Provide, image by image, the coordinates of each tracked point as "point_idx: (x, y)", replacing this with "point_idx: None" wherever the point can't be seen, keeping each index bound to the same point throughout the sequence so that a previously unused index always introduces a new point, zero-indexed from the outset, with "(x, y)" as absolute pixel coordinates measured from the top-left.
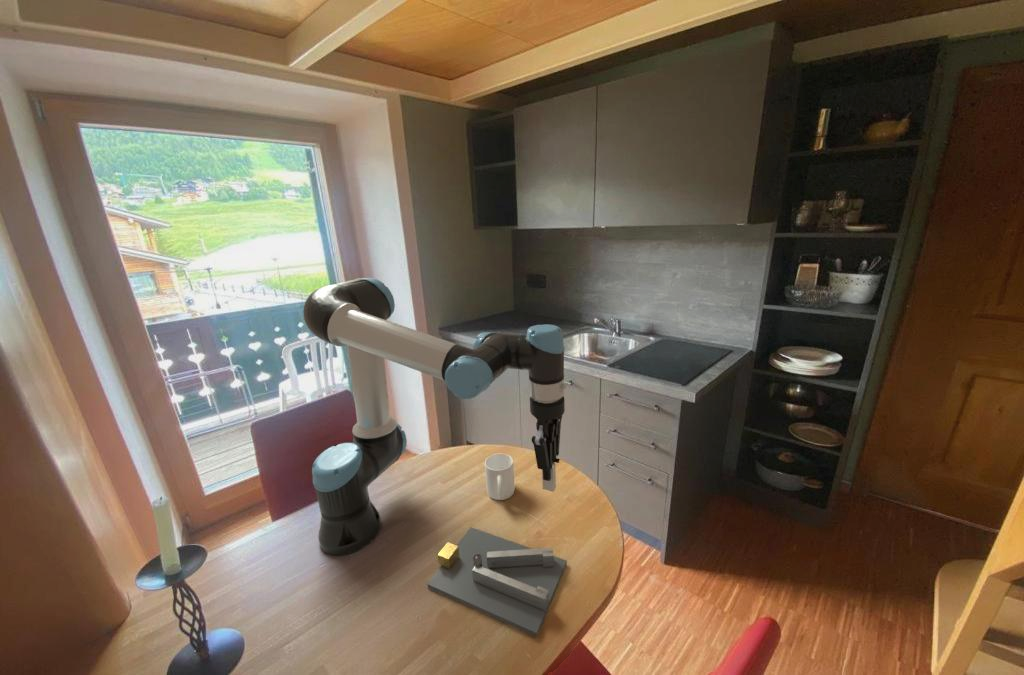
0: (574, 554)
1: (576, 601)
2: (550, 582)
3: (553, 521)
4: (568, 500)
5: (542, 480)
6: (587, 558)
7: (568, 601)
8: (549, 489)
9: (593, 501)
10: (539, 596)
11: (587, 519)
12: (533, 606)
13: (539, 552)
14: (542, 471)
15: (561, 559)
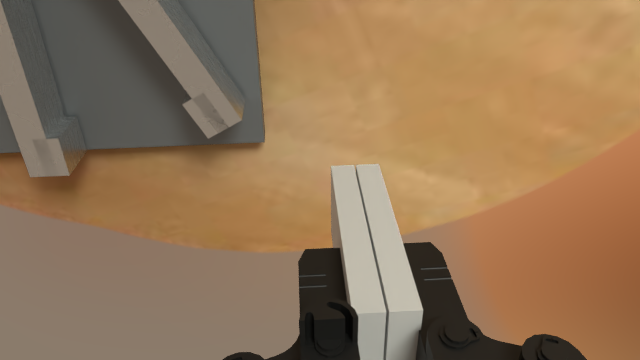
0: (317, 141)
1: (158, 198)
2: (153, 126)
3: (449, 12)
4: (596, 26)
5: (337, 206)
6: (320, 181)
7: (144, 180)
8: (331, 215)
9: (604, 122)
10: (26, 158)
11: (497, 130)
12: None
13: (191, 84)
14: (343, 265)
15: (259, 125)
